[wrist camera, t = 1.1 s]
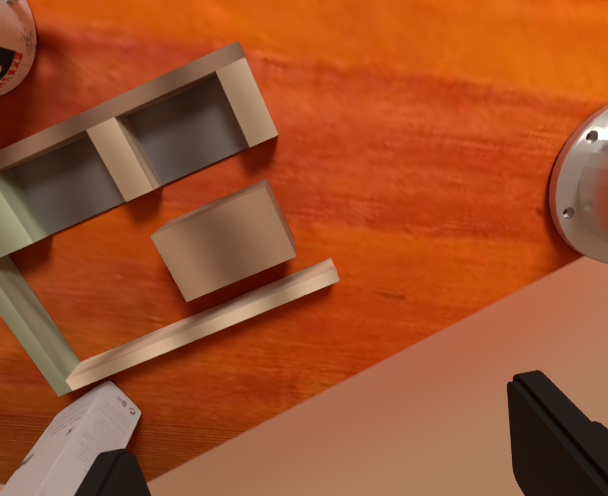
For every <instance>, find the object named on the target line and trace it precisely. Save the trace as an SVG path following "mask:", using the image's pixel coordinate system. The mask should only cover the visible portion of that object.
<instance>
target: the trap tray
mask: <svg viewBox="0 0 608 496" xmlns="http://www.w3.org/2000/svg"><path fill="white" fill-rule="evenodd" d="M277 135H278V132H277V130H276V127H275V125H274V123H273V120H272V118H271V116H270V113H269V111H268V108H267V106H266V104H265V101H264V99H263V97H262V94H261V92H260V90H259V87H258V85H257V83H256V80H255V78H254V76H253V73H252V71H251V68H250V66H249V64H248V61H247V59H246V57H245V54H244V52H243V50H242V47H241V45H240V44H239V42H238V41H236V42H234V43H232V44H230V45H227V46H225V47H223V48H221V49H219V50H217V51H214V52H212V53H210V54H208V55H206V56H203V57H201V58H199V59H197V60H195V61H193V62H190V63H188V64H186V65H184V66H182V67H180V68H177V69H175V70H173V71H171V72H169V73H166V74H164V75H162V76H160V77H158V78H156V79H153V80H151V81H149V82H147V83H145V84H143V85H140V86H138V87H136V88H134V89H132V90H130V91H127V92H125V93H123V94H121V95H119V96H116V97H114V98H112V99H110V100H108V101H106V102H103V103H101V104H99V105H97V106H95V107H93V108H90V109H88V110H86V111H84V112H82V113H79V114H77V115H75V116H73V117H71V118H69V119H66V120H64V121H62V122H60V123H58V124H56V125H53V126H51V127H49V128H47V129H45V130H43V131H40V132H38V133H36V134H34V135H32V136H29V137H27V138H25V139H23V140H21V141H19V142H16V143H14V144H12V145H10V146H8V147H6V148H3V149H1V150H0V315H1V317H2V318H3V319H4V321H5V322H6V324H7V325H8V326H9V328H10V329H11V331H12V332H13V333H14V335H15V336H16V338H17V339H18V340H19V342H20V343H21V345H22V346H23V347H24V349H25V350H26V352H27V353H28V354H29V356H30V357H31V359H32V360H33V361H34V363H35V364H36V366H37V367H38V368H39V370H40V371H41V373H42V374H43V375H44V377H45V378H46V380H47V381H48V382H49V384H50V385H51V387H52V388H53V389H54V391H55V392H56V394H57V395H58V396H61V395H64V394H66V393H68V392H71V391H73V390H76V389H78V388H81V387H83V386H85V385H88V384H90V383H93V382H95V381H98V380H100V379H102V378H105V377H107V376H110V375H112V374H115V373H117V372H119V371H122V370H124V369H127V368H129V367H132V366H134V365H136V364H139V363H141V362H144V361H146V360H149V359H151V358H153V357H156V356H158V355H161V354H163V353H166V352H168V351H170V350H173V349H175V348H178V347H180V346H183V345H185V344H187V343H190V342H192V341H195V340H197V339H200V338H202V337H204V336H207V335H209V334H212V333H214V332H217V331H219V330H221V329H224V328H226V327H229V326H231V325H234V324H236V323H238V322H241V321H243V320H246V319H248V318H251V317H253V316H255V315H258V314H260V313H263V312H265V311H268V310H270V309H272V308H275V307H277V306H280V305H282V304H285V303H287V302H289V301H292V300H294V299H297V298H299V297H302V296H304V295H306V294H309V293H311V292H314V291H316V290H319V289H321V288H323V287H326V286H328V285H331V284H333V283H336V282H338V281H340V279H339V276H338V274H337V271H336V269H335V266H334V264H333V261H332V259H331V258H329V259H327V260H325V261H322V262H320V263H317V264H315V265H313V266H310V267H308V268H305V269H303V270H301V271H298V272H296V273H293V274H291V275H289V276H286V277H284V278H281V279H279V280H277V281H274V282H272V283H269V284H267V285H265V286H262V287H260V288H257V289H255V290H253V291H250V292H248V293H245V294H243V295H241V296H238V297H236V298H233V299H231V300H229V301H226V302H224V303H221V304H219V305H217V306H214V307H212V308H209V309H207V310H205V311H202V312H200V313H197V314H195V315H193V316H190V317H188V318H185V319H183V320H181V321H178V322H176V323H173V324H171V325H168V326H166V327H164V328H161V329H159V330H156V331H154V332H152V333H149V334H147V335H144V336H142V337H140V338H137V339H135V340H132V341H130V342H128V343H125V344H123V345H120V346H118V347H116V348H113V349H111V350H108V351H106V352H104V353H101V354H99V355H96V356H94V357H92V358H89V359H87V360H84V361H82V362H80V360H79V359H78V357H77V356H76V354H75V353H74V351H73V350H72V348H71V347H70V346H69V344H68V343H67V341H66V340H65V338H64V337H63V335H62V334H61V332H60V331H59V329H58V328H57V326H56V325H55V323H54V322H53V320H52V319H51V317H50V316H49V314H48V313H47V311H46V310H45V308H44V307H43V305H42V304H41V303H40V301H39V300H38V298H37V297H36V295H35V294H34V292H33V291H32V289H31V288H30V286H29V285H28V283H27V282H26V280H25V279H24V277H23V276H22V274H21V273H20V271H19V270H18V268H17V267H16V265H15V264H14V262H13V261H12V260H11V258H10V257H9V255H8V254H10V253H12V252H14V251H16V250H19V249H21V248H23V247H25V246H28V245H30V244H32V243H34V242H36V241H39V240H41V239H43V238H45V237H47V236H49V235H51V234H53V233H55V232H58V231H60V230H62V229H65V228H67V227H69V226H71V225H74V224H76V223H78V222H80V221H83V220H85V219H87V218H89V217H92V216H94V215H96V214H99V213H101V212H103V211H105V210H108V209H110V208H112V207H114V206H117V205H119V204H121V203H123V202H127V201H130V200H132V199H134V198H137V197H139V196H141V195H143V194H146V193H148V192H150V191H152V190H154V189H156V188H158V187H160V186H162V185H164V184H167V183H169V182H171V181H173V180H176V179H178V178H180V177H182V176H185V175H187V174H189V173H192V172H194V171H196V170H198V169H201V168H203V167H205V166H207V165H210V164H212V163H214V162H216V161H219V160H221V159H223V158H226V157H228V156H230V155H232V154H235V153H237V152H239V151H241V150H244V149H246V148H248V147H252V146H255V145H257V144H259V143H261V142H264V141H266V140H268V139H270V138H273V137H275V136H277Z"/></svg>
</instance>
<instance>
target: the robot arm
mask: <svg viewBox="0 0 608 496" xmlns="http://www.w3.org/2000/svg"><path fill="white" fill-rule="evenodd" d="M549 206H550V211H551V216H552V220H553V222H554V224H555V227H556V229H557V231H558V233H559V234H560V235H561V237H562V238H563V240H564V241H565V242H566V243H567V244H568V245H569V246H570V247H572V248H573V249H574V250H575V251H577V252H579V253H581V254H583V255H584V256H586V257H589V258H592V259H594V260H597V261H599V262H602V263H608V104H607V105H606V106H604V107H603V108H601V109H600V110H598V111H597V112H595V113H593V114H592V115H591V116H590V117H589V118H588V119H587V120H585V121H584V122H583V123H582V124H581V125H580V126H579V127H578V128H577V129H576V131H575V132H574V133H573V134H572V136H571V137H570V138H569V139H568V140H567V142H566V144H565V146H564V147H563V149H562V151H561V153H560V154H559V156H558V159H557V161H556V164H555V167H554V169H553V172H552V177H551V182H550V187H549ZM507 395H508V408H509V422H510V437H511V450H512V451H511V452H512V466H513V472H514V475H515V479H516V481H517V483H518V485H519V487H520V488H521V490H522V492H523V493H524V495H525V496H608V429H607V428H606V427H605V426H603V425H602V424H601V423H599V422H596V421H594V422H591V421H590V420H589V419H588V418H587V417H586V416H585V415H584V414H583V413H582V412H581V411H580V410H579V409H578V408H577V407H576V406H575V405H574V404H573V403H572V402H571V401H570V400H569V399H568V398H567V397H566V396H565V394H564V393H562V391H561V390H559V389H558V387H556V386H555V384H554V383H552V382H551V380H550V379H549V378H548V377H546V375H545V374H544V373H542V372H541V371H539V370H536V371H531V372H525V373H520V374H515V375H514V376H513V381H512V382H508V384H507ZM74 496H151V494H150V492H149V489H148V486H147V484H146V481H145V479H144V476H143V474H142V471H141V469H140V466H139V464H138V461H137V459H136V457H135V455H134V454H133V453H129V452H128V450H126V449H125V448H121V449H116V450H111V451H105V452H101V453H100V454H99V455H98V456H97V457H96V459H95V460H94V462H93V464H92V466H91V467H90V469H89V471H88V472H87V474H86V476H85V477H84V479H83V481H82V483H81V484H80V486H79V488H78V489H77V491H76V493H75V495H74Z"/></svg>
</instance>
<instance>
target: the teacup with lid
mask: <svg viewBox="0 0 608 496" xmlns="http://www.w3.org/2000/svg"><path fill="white" fill-rule="evenodd" d="M36 42H37V39H36V28H35V23H34V19H33V16H32V13H31V10H30V8H29V5H28V3H27V1H26V0H0V96H1V95H3V94H5V93H7V92H9V91H11V90H12V89H14V88H15V87H16V86H17V85H19V84H20V83H21V82H22V80H23V79H24V78H25V77H26V75H27V74H28V72H29V70H30V68H31V66H32V64H33V61H34V57H35V53H36Z"/></svg>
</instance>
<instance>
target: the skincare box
mask: <svg viewBox="0 0 608 496" xmlns="http://www.w3.org/2000/svg"><path fill="white" fill-rule="evenodd" d="M140 416H141V411H140V410H139V409H138V408H137V406H136V405H135V404H134V403H133V402H132V401H131V400H130V399H129V398H128V397H127V396H126V395H125V394H124V393H123V392H122V391H121V390H120V389H119V388H118V387H117V386H116V385H115V384H114V383H113V382H111V381H106V382H104V383H102V384H100V385H98V386H97V387H95V388H94V389H92V390H91V391H89V392H87V393H86V394H84V395H83V396H82V397H80V398H79V399H77V400H76V401H74V402H73V403H72V404H70V405H69V406H68V407H66V408H65V409H64V410H62V411H61V412H60V413H59V414H58V415H57V416H56V417H55V418H54V419H53V421H52V422H51V423H50V425H49V426H48V428H47V429H46V430H45V432H44V433H43V434H42V436H41V437H40V438H39V440H38V441H37V442H36V444H35V445H34V447H33V448H32V449H31V451H30V452H29V454H28V455H27V456H26V458H25V459H24V460H23V462H22V463H21V464H20V466H19V467H18V468H17V470H16V471H15V473H14V474H13V475H12V477H11V478H10V479H9V481H8V482H7V484H6V485H5V486H4V488H3V489H2V490H1V492H0V496H74V495H75V493H76V491H77V489H78V488H79V486H80V484H81V483H82V481H83V479H84V477H85V476H86V474H87V472H88V471H89V469H90V467H91V466H92V464H93V462H94V460H95V459H96V457H97V456H98V455H99V454H100V453H101V452H105V451H111V450H116V449H121V448H126V446H127V444H128V442H129V439H130V437H131V435H132V433H133V431H134V429H135V427H136V424H137V422H138V420H139V418H140Z"/></svg>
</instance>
